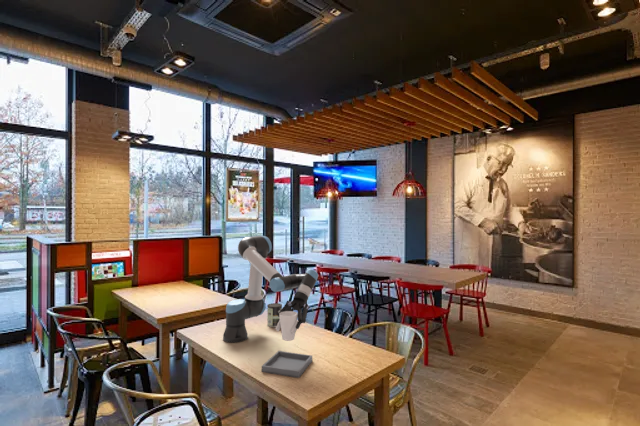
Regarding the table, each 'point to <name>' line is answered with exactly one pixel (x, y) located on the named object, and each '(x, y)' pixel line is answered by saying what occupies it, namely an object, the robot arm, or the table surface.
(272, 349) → the table surface
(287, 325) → the foam cup
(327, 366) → the table surface
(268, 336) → the table surface
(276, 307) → the coffee can
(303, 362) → the tray
